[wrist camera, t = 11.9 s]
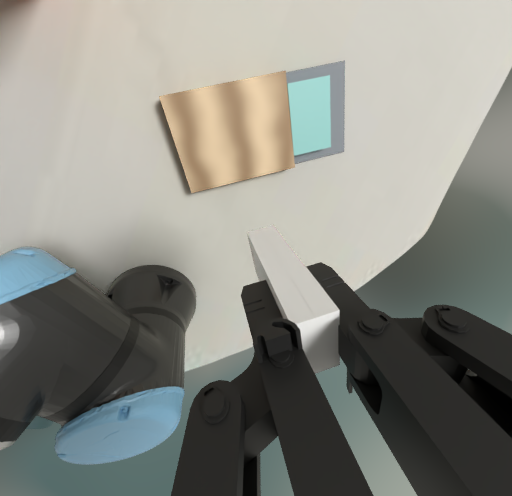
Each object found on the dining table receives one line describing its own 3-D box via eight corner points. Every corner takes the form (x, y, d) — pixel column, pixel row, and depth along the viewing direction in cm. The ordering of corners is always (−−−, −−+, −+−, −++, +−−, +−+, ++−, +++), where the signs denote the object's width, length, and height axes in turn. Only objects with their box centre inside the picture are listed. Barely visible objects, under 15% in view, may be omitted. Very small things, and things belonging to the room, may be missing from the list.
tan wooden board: (191, 188, 36) (191, 193, 34) (161, 98, 30) (159, 96, 28) (289, 164, 38) (295, 167, 35) (279, 74, 32) (285, 70, 29)
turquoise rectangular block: (289, 154, 37) (293, 155, 35) (282, 85, 32) (287, 83, 30) (324, 145, 37) (330, 147, 36) (322, 77, 33) (330, 75, 31)
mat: (292, 164, 38) (292, 164, 37) (283, 73, 32) (283, 73, 31) (343, 151, 39) (344, 151, 38) (343, 61, 33) (344, 60, 32)
